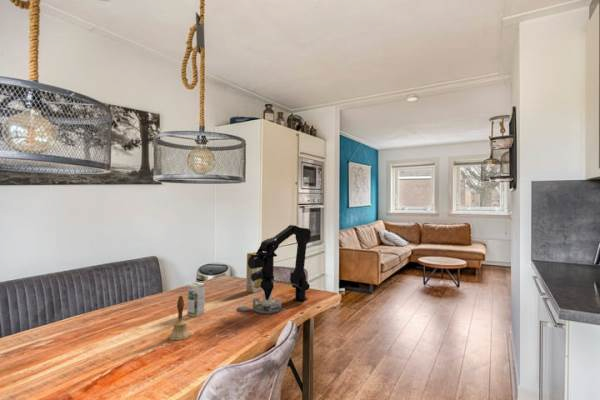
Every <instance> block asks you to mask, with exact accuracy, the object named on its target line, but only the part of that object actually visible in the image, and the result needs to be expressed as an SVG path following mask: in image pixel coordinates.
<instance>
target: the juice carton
mask: <svg viewBox="0 0 600 400" xmlns="http://www.w3.org/2000/svg"><path fill="white" fill-rule="evenodd" d="M257 251H258V250H255V251H252V252H248V253H246V275H245V276H246V280H245V281H246V285H245V286H246V287H245V291H246V292H249V293H257V292H260V291H263V289H262V288H261V287H260V285H261V281H262V280H261V278H260V279H258V280H255V281H252V279H251V276H250V275H251V274H252V273H255V272H257V271H261V269H262V267H260V268H254V269H250V268H249V266H248V260H249V258H250V257H251V254H256V253H257Z"/></svg>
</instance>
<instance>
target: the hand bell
mask: <svg viewBox="0 0 600 400" xmlns="http://www.w3.org/2000/svg"><path fill="white" fill-rule="evenodd" d="M176 306H177V307H176V308H177V312H178V313H177V314H178V315H177V321H175V322H174V323H173V328H172V329H173V330H172V332H171V333H170V334H169V336H168V339H169V340H171V341H182V340H186V339H189V338H190V337H191V335H192V333H191V332H190V331H189V329H188V328H187V327H188V326H187V322H186V320H183V319H184V318H183V311H184V307H185V299H184V297H183V295H179V296H178V299H177V304H176Z"/></svg>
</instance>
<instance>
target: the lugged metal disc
mask: <svg viewBox="0 0 600 400" xmlns="http://www.w3.org/2000/svg"><path fill="white" fill-rule="evenodd" d="M260 300H261V298H260V297H252V311H253V312H254V313H257V314H259V315H260V314H261V315H273V314H277V313H279V312H280V311H281V310H282V298H281V297H274V300H275V301H277V302H278V303H277V304H271V305H263V304H257V301H260Z"/></svg>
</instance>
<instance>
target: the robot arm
mask: <svg viewBox="0 0 600 400" xmlns="http://www.w3.org/2000/svg"><path fill="white" fill-rule="evenodd" d="M292 235H295V240H296V243H297V244H296V245H297V246H296V247H297V248H296V256H295V266H294V270H293V272H290V276H289V281H290V284H291V287H292V288H295V293H294V295H295V297H293V299H292V300H293V301H295V302H296V301H297V302H302V303H303V302H305V301H306V300H309V297H306V296H307V294H306V293H307V291H308V290H309V289H310V286H311V285H310V284H309V282H307V277H306V276H307V275H306V272H305V260H306V255H307V254H306V253H307V252H306V251H307V245H308V243H309V242H310V240H311V235H312V231H311V230H310V228H307V227H299V226H297V225H294V224H293V225H292V224H290V225H288V226H287V227H286V228H285V229H283V230H282V231H280V232H279V233H277V234H276V235H275V236H273V237H270V238H266V239H264V240H262V241H261V242H260V246H259V248H258V249H257V250H256V251H257V253H256V254H251V257H250V258H249V260H248V266H249V268H250V269H254V268H260V267H262V269H261V271H257V272H255V273H252V274H251V275H250V276H251V279H252V281H255V280H258V279H260V278H261V280H262V281H261V285H260V287H261V288H262V291H263V290H264V293H265V298H266V300H268V299H269V297H270V294H271V292H272V293H273V290H274V287H275V285H274V283H275V281H274V280H275V274H274V262H275V259H274V257H278V254H276V253H275V252H276V251H277V249H278V248H279V247H280V245H281V244H282V243H283V242H284V241H286V240H287V239H288V238H290V237H291V236H292Z"/></svg>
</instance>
